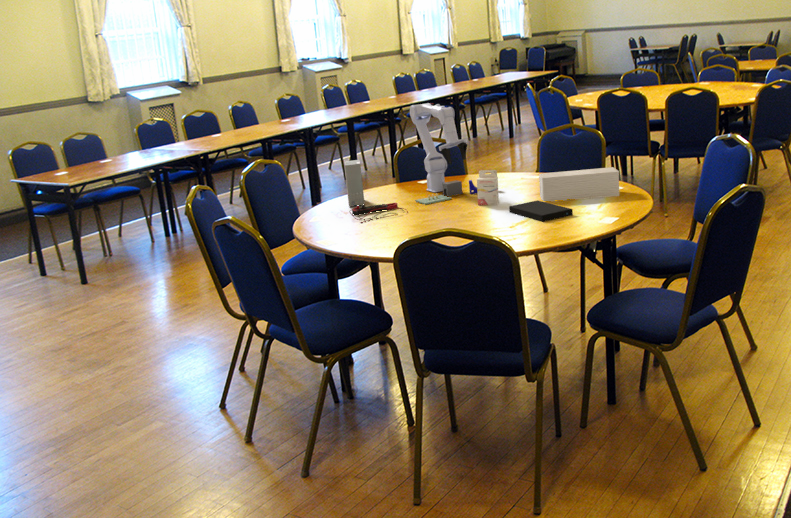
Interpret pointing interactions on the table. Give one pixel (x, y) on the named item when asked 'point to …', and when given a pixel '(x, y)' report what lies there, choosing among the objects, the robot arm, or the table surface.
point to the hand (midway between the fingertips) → (457, 161)
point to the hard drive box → (354, 182)
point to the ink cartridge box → (487, 188)
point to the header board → (433, 199)
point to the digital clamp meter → (374, 209)
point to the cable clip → (472, 187)
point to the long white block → (579, 184)
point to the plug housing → (452, 188)
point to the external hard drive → (540, 211)
